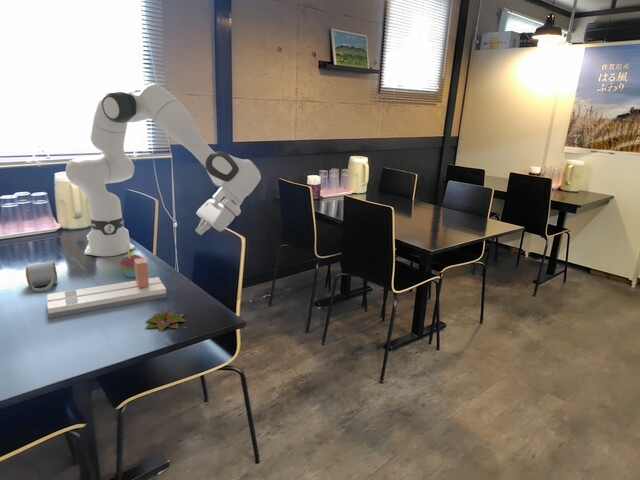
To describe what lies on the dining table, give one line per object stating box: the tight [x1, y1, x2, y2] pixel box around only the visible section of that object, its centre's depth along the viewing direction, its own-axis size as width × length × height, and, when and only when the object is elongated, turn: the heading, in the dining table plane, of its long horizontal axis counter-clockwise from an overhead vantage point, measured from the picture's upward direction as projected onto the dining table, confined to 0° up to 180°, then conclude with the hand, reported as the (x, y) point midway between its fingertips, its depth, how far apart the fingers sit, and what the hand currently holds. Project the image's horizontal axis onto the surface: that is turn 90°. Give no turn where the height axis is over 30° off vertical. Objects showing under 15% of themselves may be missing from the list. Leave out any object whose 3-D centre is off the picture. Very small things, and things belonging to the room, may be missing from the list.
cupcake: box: [119, 246, 143, 278], centre depth 153 cm, size 9×8×12 cm
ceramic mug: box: [25, 260, 59, 293], centre depth 141 cm, size 11×8×8 cm
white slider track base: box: [46, 276, 167, 319], centre depth 133 cm, size 11×32×3 cm, turn 121°
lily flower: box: [144, 306, 186, 332], centre depth 122 cm, size 12×12×5 cm
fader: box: [134, 257, 149, 288], centre depth 137 cm, size 5×3×10 cm, turn 31°
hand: (197, 233), depth 143 cm, fingers closed
